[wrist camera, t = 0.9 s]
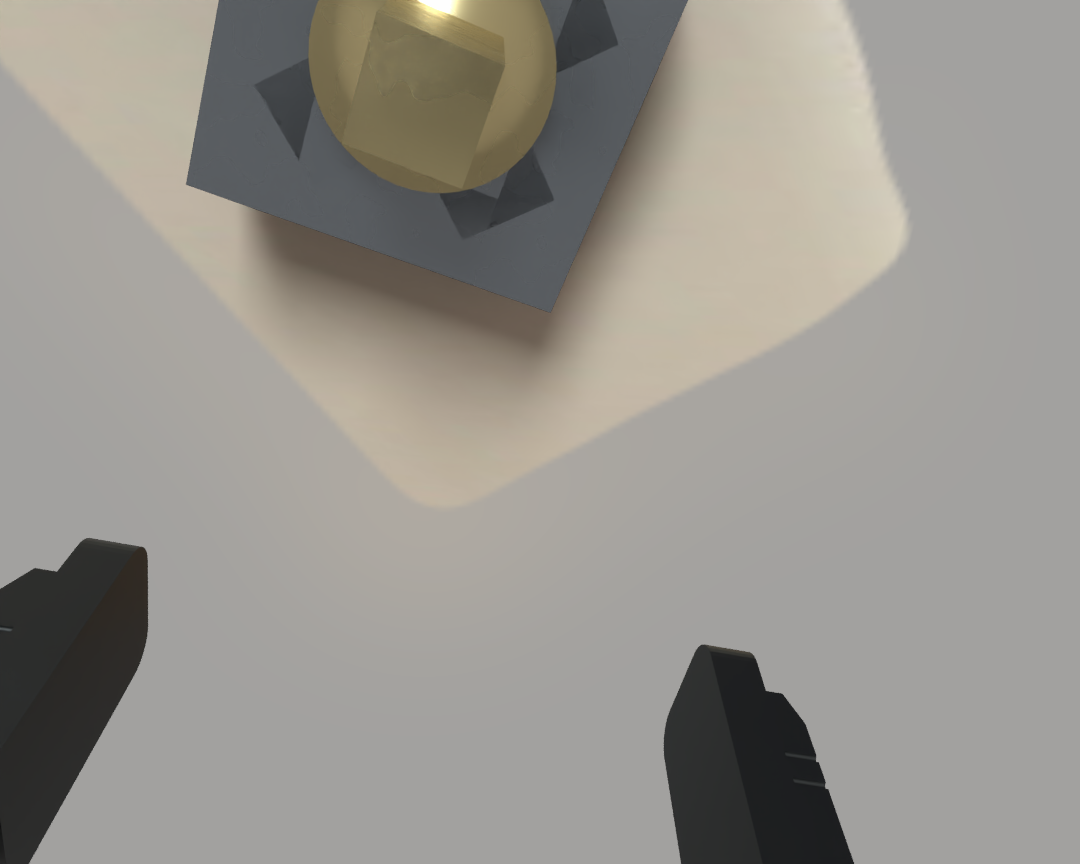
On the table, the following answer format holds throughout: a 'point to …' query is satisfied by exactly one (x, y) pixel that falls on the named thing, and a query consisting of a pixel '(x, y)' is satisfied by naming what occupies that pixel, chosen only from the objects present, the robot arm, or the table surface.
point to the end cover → (433, 85)
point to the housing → (414, 216)
